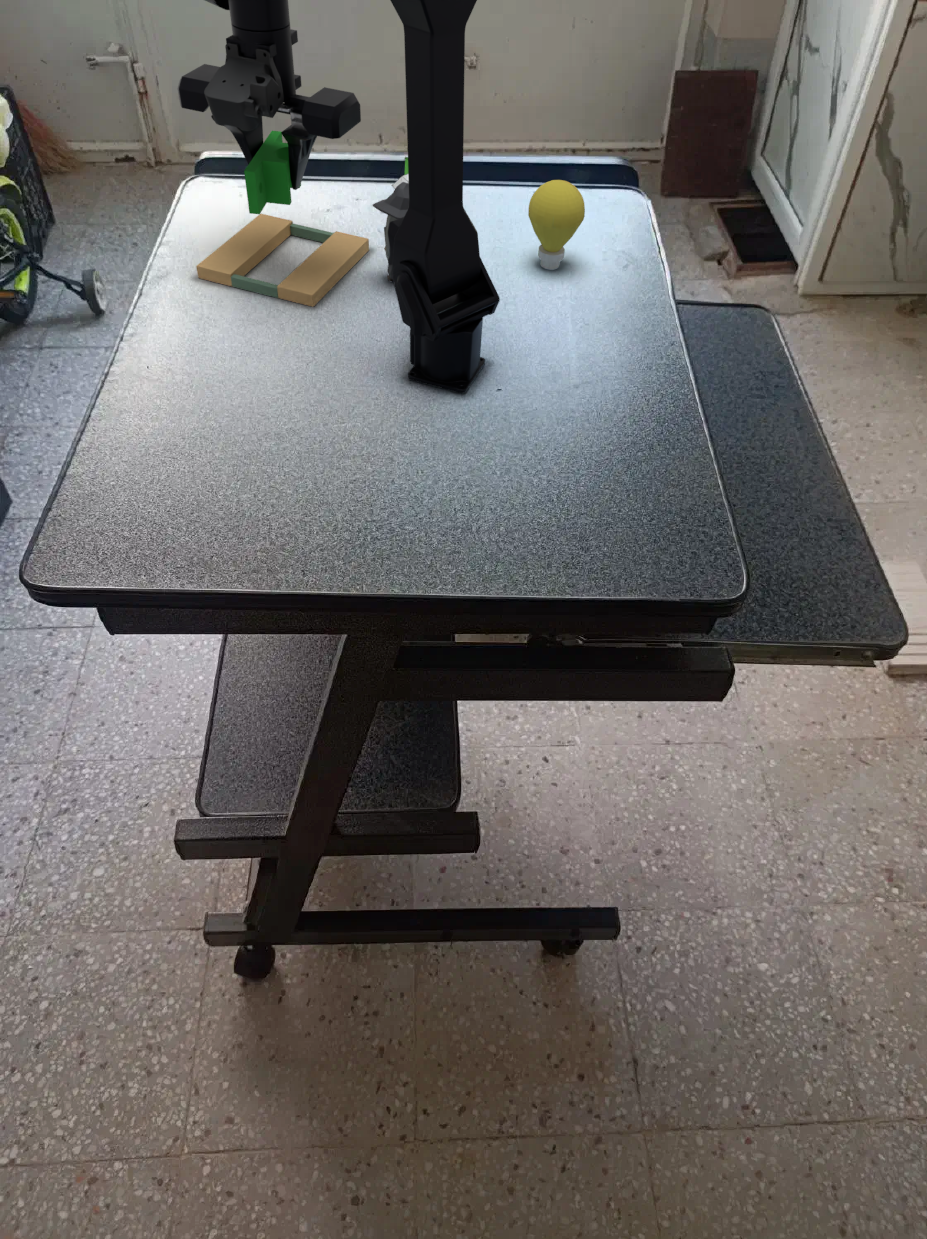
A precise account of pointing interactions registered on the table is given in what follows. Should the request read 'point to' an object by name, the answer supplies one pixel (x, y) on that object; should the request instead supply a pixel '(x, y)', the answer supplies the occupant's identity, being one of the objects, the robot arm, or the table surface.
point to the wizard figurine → (393, 213)
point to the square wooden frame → (263, 239)
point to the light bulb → (555, 219)
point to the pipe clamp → (269, 174)
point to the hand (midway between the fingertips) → (277, 184)
